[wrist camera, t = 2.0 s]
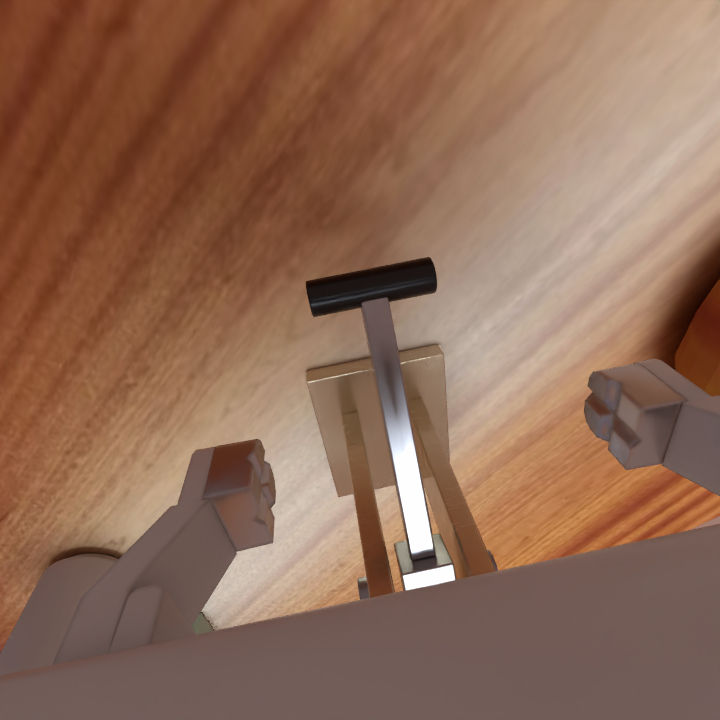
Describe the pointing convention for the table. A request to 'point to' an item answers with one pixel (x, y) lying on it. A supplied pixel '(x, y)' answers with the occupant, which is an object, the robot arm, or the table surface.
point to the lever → (393, 400)
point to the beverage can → (51, 611)
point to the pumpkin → (702, 346)
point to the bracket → (372, 461)
